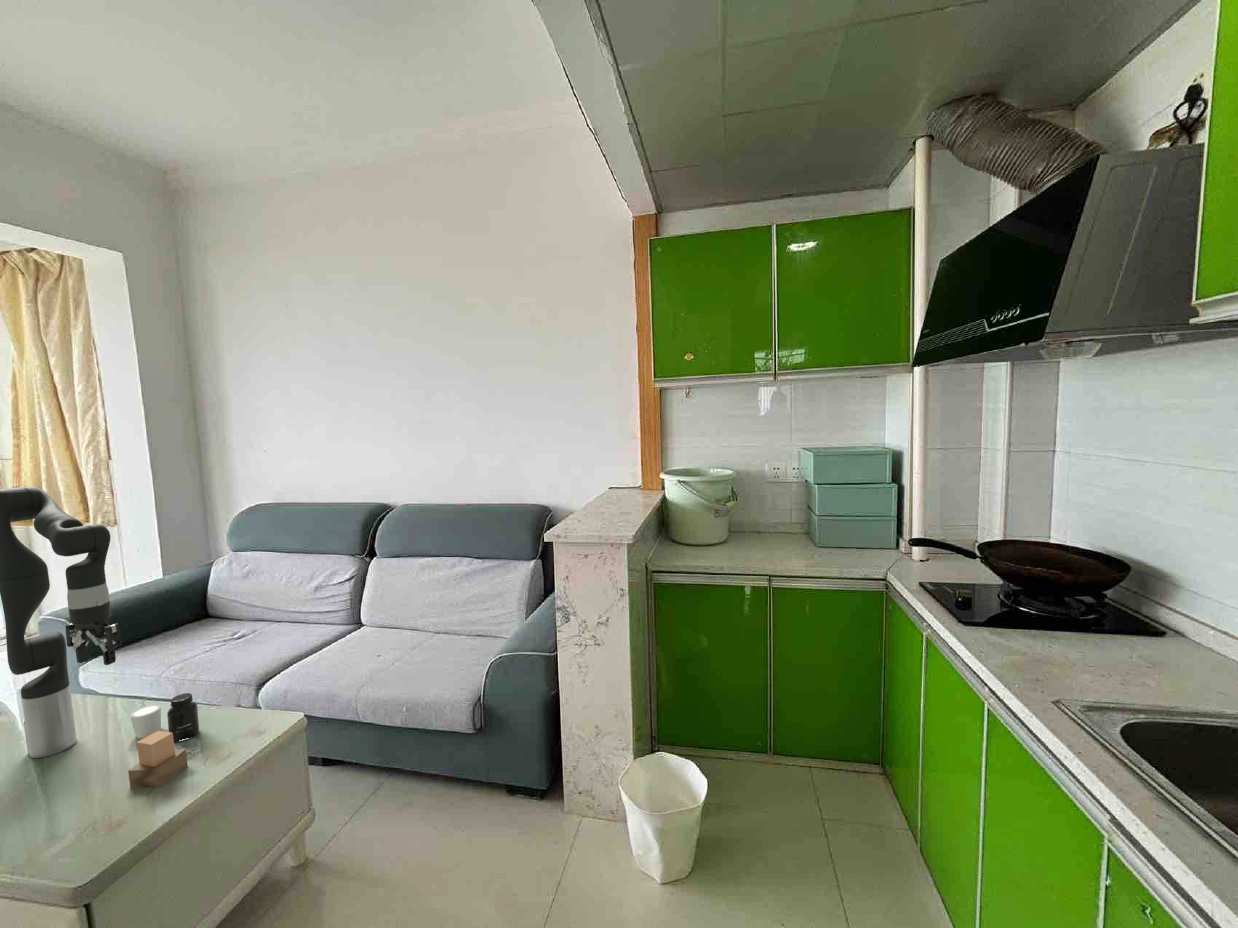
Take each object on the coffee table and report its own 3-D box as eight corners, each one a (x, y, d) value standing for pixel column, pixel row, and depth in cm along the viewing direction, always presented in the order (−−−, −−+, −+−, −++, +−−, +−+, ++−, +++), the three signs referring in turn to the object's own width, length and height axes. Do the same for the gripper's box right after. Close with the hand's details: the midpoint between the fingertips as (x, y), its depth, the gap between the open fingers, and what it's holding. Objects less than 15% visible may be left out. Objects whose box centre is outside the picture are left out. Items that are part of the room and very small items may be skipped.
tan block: (139, 764, 134) (136, 742, 133) (160, 751, 139) (158, 730, 138) (154, 766, 133) (151, 744, 132) (175, 754, 138) (172, 732, 137)
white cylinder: (161, 734, 155) (159, 711, 155) (130, 742, 151) (127, 719, 151) (165, 723, 161) (162, 701, 160) (135, 731, 157) (132, 709, 156)
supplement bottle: (182, 744, 150) (178, 704, 149) (163, 742, 151) (159, 702, 150) (205, 730, 157) (201, 691, 155) (187, 728, 158) (183, 690, 157)
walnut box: (130, 789, 132) (128, 770, 132) (157, 768, 140) (155, 750, 140) (162, 787, 132) (160, 769, 132) (187, 766, 140) (185, 749, 140)
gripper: (49, 606, 132) (57, 668, 134) (94, 608, 130) (102, 671, 131) (84, 596, 140) (91, 654, 141) (127, 598, 137) (134, 657, 139)
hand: (96, 662), depth 136 cm, fingers open, 8 cm apart
